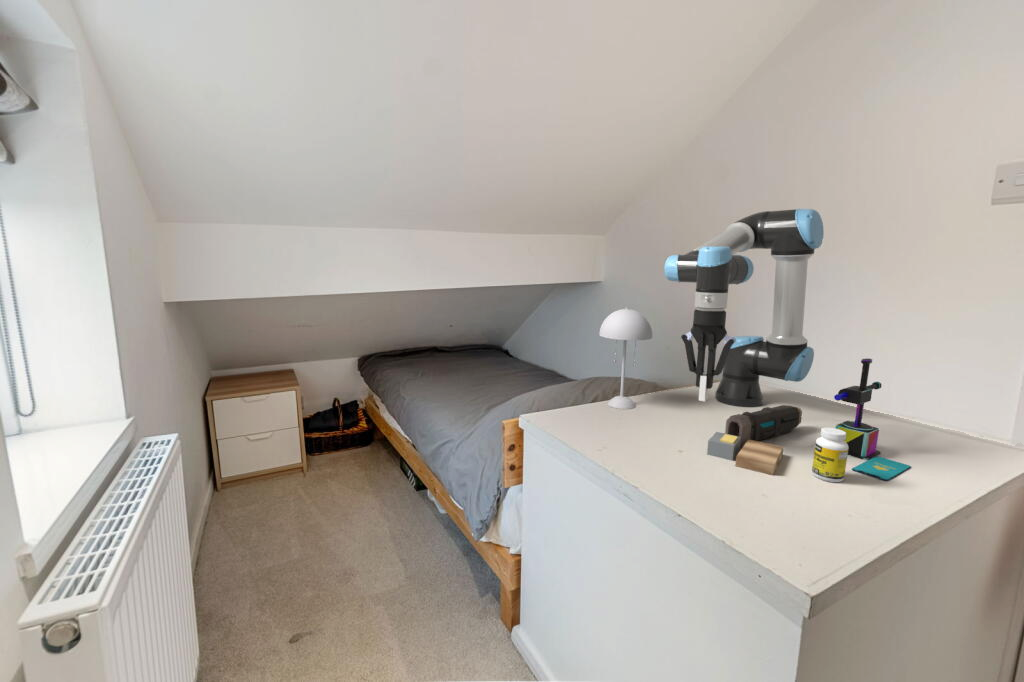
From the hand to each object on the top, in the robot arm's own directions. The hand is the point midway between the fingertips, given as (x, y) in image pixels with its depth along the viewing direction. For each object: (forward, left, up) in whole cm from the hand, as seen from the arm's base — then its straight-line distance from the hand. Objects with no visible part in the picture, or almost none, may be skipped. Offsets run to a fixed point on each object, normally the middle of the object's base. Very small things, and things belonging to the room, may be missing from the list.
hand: (703, 399), depth 123 cm
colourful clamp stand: (-28, +34, -13) cm, 46 cm away
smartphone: (-14, +38, -13) cm, 43 cm away
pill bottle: (0, +28, -13) cm, 31 cm away
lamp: (-22, -32, -13) cm, 40 cm away
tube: (-20, +12, -13) cm, 27 cm away
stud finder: (0, +6, -13) cm, 14 cm away
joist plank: (0, +14, -13) cm, 19 cm away
